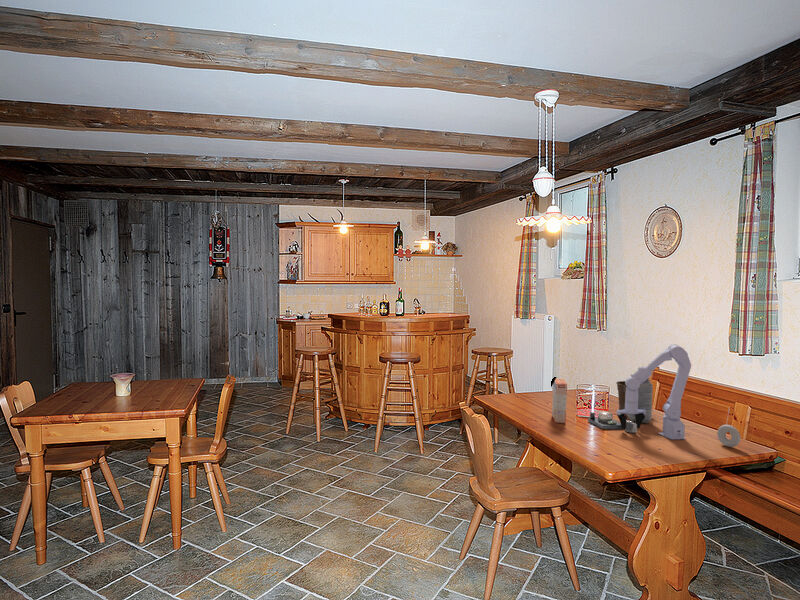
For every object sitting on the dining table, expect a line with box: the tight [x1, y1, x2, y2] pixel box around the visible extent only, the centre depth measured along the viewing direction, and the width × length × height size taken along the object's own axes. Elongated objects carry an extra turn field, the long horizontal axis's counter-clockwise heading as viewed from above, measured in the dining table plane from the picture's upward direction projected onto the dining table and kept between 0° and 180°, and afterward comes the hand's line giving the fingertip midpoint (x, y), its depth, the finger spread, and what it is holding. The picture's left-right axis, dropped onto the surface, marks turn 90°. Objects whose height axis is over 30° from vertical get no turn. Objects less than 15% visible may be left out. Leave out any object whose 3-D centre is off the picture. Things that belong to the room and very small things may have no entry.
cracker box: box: [551, 378, 568, 424], centre depth 268 cm, size 14×6×21 cm, turn 168°
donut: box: [716, 424, 741, 448], centre depth 228 cm, size 10×4×10 cm, turn 23°
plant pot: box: [615, 380, 627, 410], centre depth 288 cm, size 16×16×16 cm
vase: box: [626, 378, 654, 424], centre depth 267 cm, size 12×12×23 cm
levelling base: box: [587, 411, 623, 430], centre depth 260 cm, size 14×12×6 cm
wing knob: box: [624, 419, 638, 434], centre depth 249 cm, size 7×5×5 cm
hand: (630, 428), depth 249 cm, fingers open, 7 cm apart
